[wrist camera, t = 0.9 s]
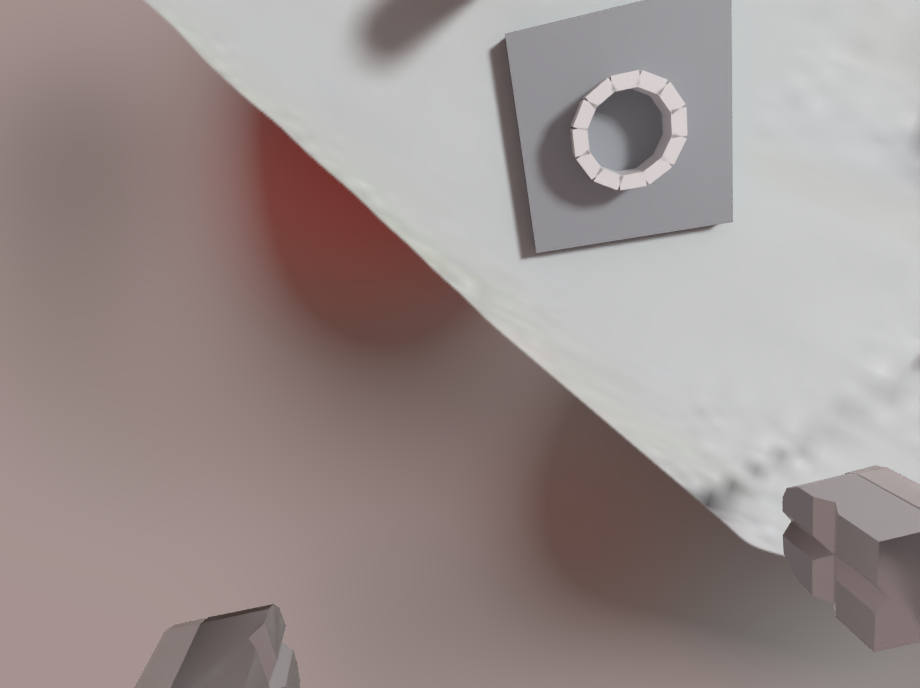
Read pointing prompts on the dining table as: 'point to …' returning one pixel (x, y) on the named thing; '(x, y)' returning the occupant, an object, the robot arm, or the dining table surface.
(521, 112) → the collar plate
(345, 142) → the dining table surface
